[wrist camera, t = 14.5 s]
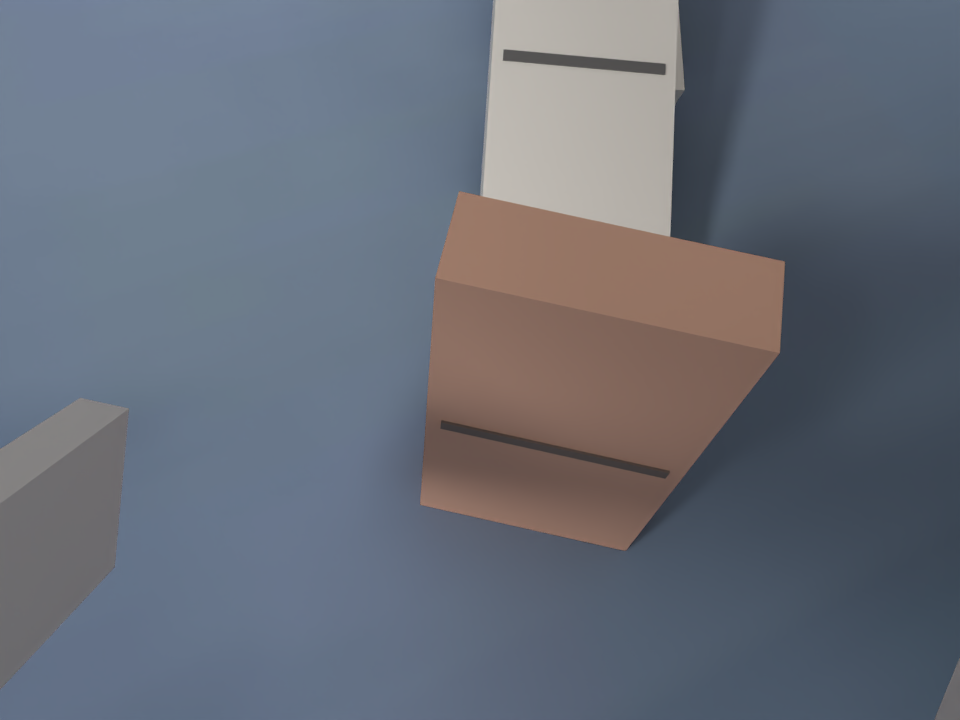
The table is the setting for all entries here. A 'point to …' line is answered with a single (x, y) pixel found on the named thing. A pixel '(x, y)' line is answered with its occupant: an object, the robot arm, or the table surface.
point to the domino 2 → (584, 366)
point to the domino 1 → (583, 109)
